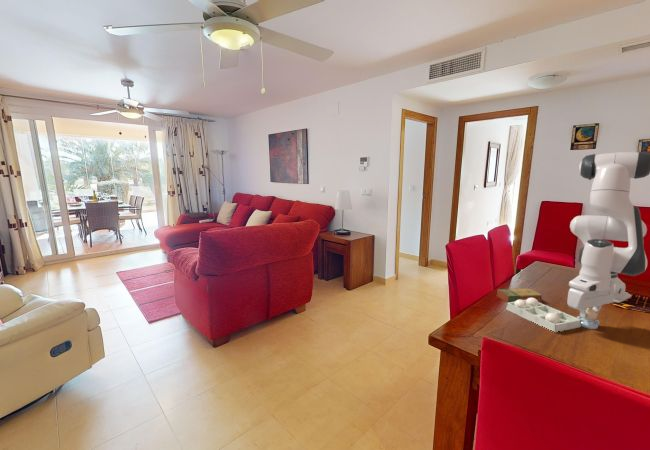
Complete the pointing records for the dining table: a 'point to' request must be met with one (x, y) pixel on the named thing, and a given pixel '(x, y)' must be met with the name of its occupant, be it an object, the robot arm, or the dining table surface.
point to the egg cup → (589, 323)
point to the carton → (517, 294)
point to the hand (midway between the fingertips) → (588, 315)
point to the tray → (539, 315)
